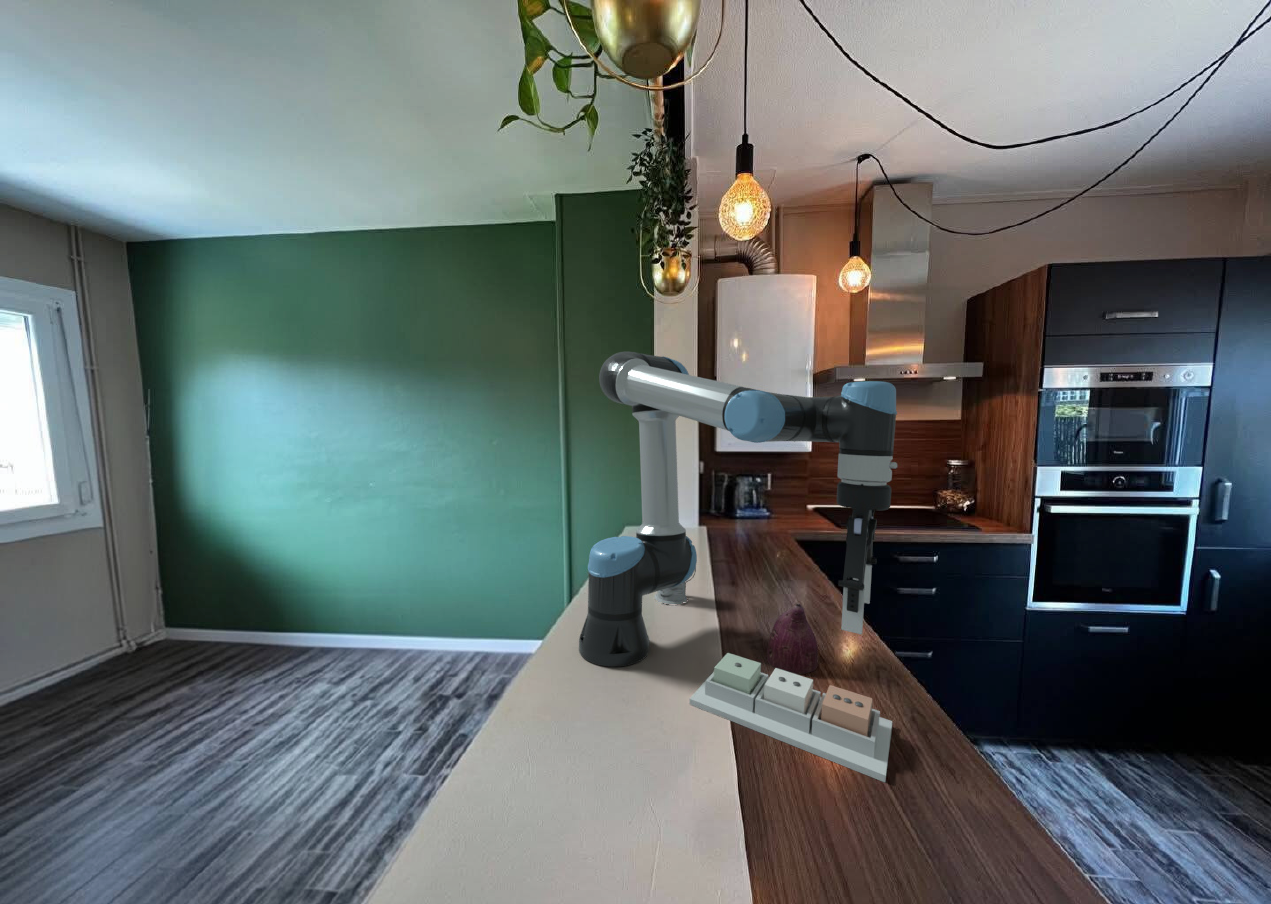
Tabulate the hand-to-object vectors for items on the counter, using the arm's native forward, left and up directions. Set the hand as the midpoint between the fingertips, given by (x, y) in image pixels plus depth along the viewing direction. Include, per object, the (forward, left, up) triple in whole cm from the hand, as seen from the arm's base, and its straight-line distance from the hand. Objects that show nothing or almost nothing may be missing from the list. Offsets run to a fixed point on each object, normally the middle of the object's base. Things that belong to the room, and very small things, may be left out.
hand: (856, 615), depth 71 cm
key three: (0, -2, -16) cm, 16 cm away
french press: (-49, +32, -19) cm, 62 cm away
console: (-9, -2, -19) cm, 21 cm away
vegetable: (-13, +17, -19) cm, 29 cm away
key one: (-18, -2, -16) cm, 25 cm away
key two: (-9, -2, -16) cm, 19 cm away
